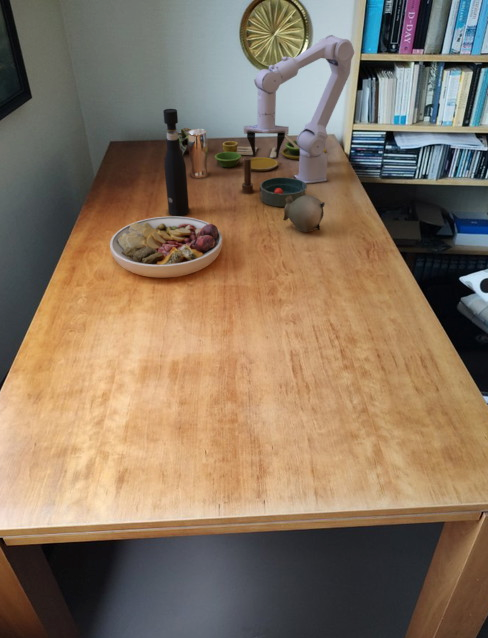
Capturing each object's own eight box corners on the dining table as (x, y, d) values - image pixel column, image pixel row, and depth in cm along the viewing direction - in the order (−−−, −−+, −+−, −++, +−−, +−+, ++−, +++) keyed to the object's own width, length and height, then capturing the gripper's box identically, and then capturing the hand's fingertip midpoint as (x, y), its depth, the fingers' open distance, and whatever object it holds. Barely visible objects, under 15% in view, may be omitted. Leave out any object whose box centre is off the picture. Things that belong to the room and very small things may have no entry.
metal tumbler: (208, 178, 197) (206, 134, 187) (189, 178, 197) (185, 134, 187) (209, 171, 202) (207, 128, 192) (190, 171, 202) (188, 128, 192)
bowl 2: (295, 188, 189) (296, 175, 187) (312, 204, 178) (313, 191, 175) (253, 193, 186) (253, 180, 183) (268, 210, 175) (268, 196, 172)
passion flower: (190, 164, 224) (206, 139, 218) (182, 168, 214) (199, 142, 209) (168, 146, 222) (184, 120, 216) (159, 149, 213) (175, 122, 207)
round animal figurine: (294, 219, 170) (296, 186, 163) (329, 227, 165) (333, 194, 158) (278, 231, 163) (279, 197, 156) (315, 240, 158) (318, 206, 152)
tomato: (280, 191, 178) (271, 190, 180) (281, 199, 181) (273, 199, 182) (283, 186, 180) (275, 186, 181) (284, 194, 182) (276, 194, 184)
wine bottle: (190, 208, 176) (183, 107, 157) (187, 216, 171) (179, 113, 152) (171, 207, 177) (161, 107, 158) (166, 216, 172) (156, 113, 153)
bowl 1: (118, 290, 137) (113, 262, 132) (108, 239, 159) (104, 213, 154) (234, 274, 143) (233, 246, 138) (209, 227, 165) (208, 201, 160)
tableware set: (327, 151, 219) (328, 134, 215) (323, 176, 198) (325, 158, 194) (225, 146, 224) (225, 130, 220) (211, 170, 203) (211, 152, 199)
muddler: (252, 189, 188) (252, 157, 181) (253, 193, 186) (253, 160, 179) (242, 190, 188) (241, 157, 181) (242, 194, 185) (242, 160, 178)
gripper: (242, 115, 172) (243, 159, 181) (289, 116, 172) (287, 160, 180) (244, 109, 178) (244, 152, 187) (289, 110, 177) (287, 153, 186)
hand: (265, 156), depth 184 cm, fingers open, 7 cm apart
